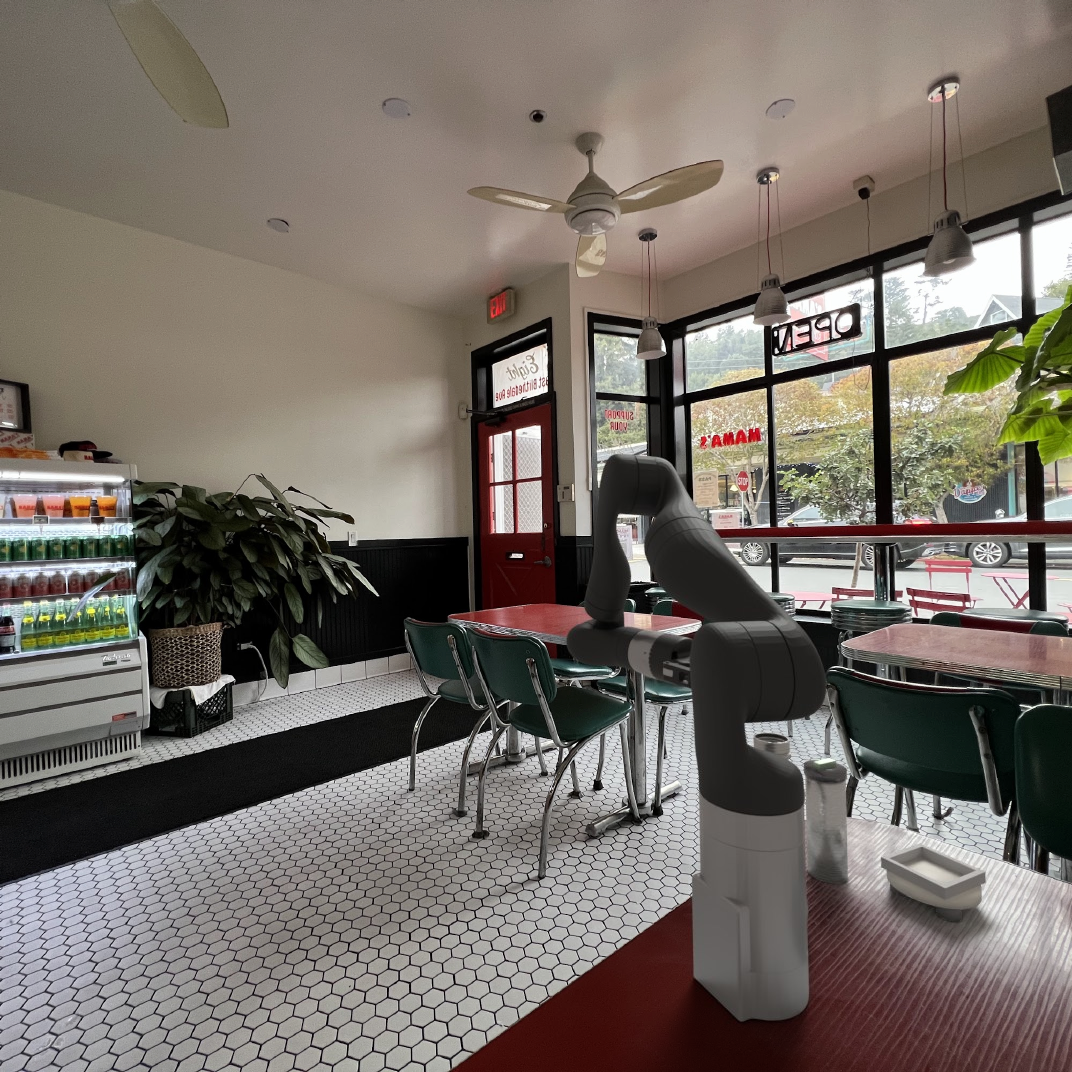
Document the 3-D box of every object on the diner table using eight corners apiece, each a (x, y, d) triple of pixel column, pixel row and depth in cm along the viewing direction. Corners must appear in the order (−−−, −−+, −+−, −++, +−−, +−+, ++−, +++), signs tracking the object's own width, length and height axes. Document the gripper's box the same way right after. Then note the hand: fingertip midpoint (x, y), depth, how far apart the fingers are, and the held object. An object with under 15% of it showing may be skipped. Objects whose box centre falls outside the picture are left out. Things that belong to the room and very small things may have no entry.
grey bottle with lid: (830, 888, 70) (827, 770, 71) (797, 868, 75) (794, 758, 75) (858, 878, 72) (855, 764, 73) (824, 859, 77) (821, 752, 77)
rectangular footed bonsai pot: (950, 933, 62) (949, 894, 62) (869, 888, 70) (868, 855, 70) (1000, 909, 66) (999, 873, 66) (918, 870, 74) (917, 838, 74)
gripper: (631, 638, 91) (720, 659, 78) (693, 628, 99) (783, 646, 86) (631, 687, 91) (719, 716, 78) (692, 673, 99) (782, 697, 86)
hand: (752, 679), depth 82 cm, fingers open, 8 cm apart
